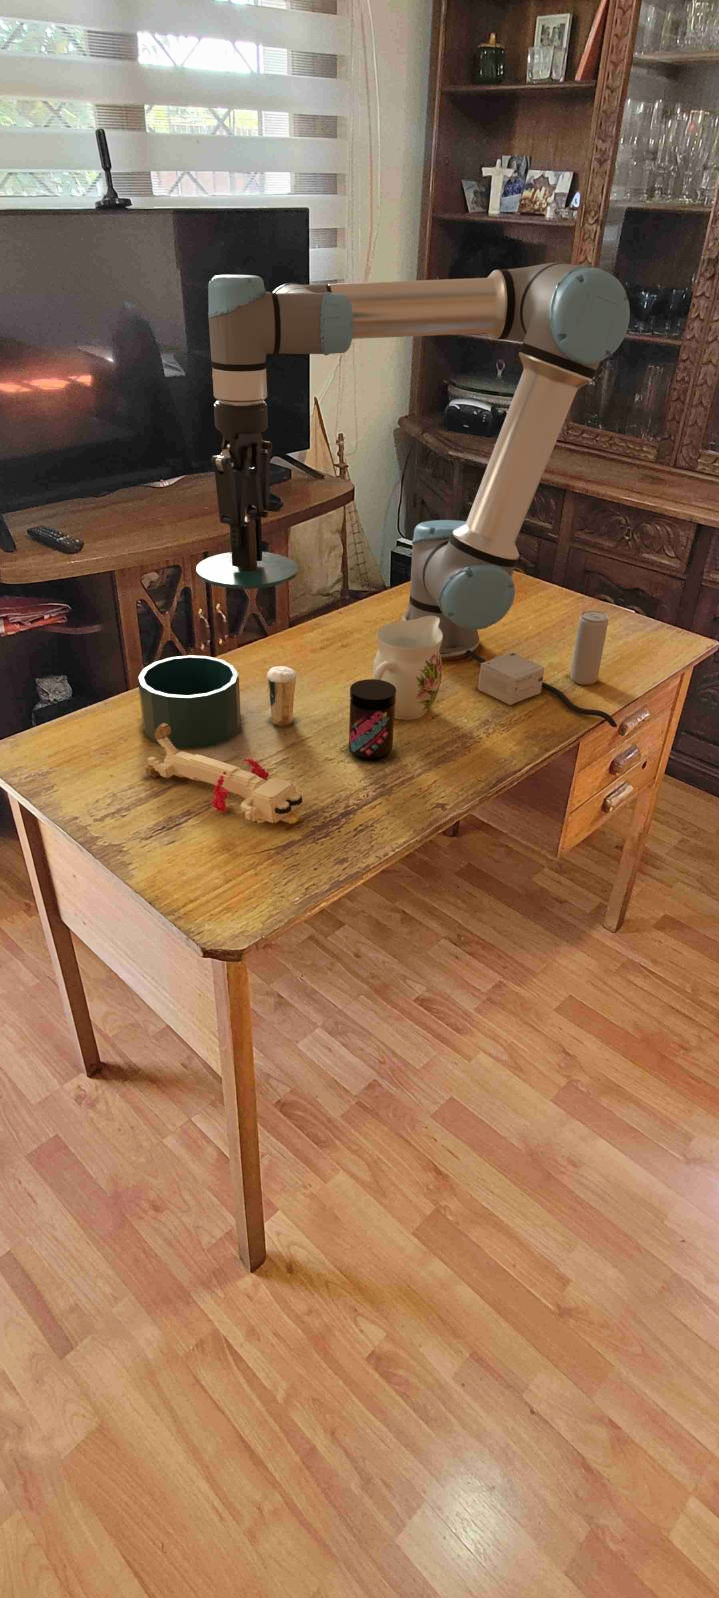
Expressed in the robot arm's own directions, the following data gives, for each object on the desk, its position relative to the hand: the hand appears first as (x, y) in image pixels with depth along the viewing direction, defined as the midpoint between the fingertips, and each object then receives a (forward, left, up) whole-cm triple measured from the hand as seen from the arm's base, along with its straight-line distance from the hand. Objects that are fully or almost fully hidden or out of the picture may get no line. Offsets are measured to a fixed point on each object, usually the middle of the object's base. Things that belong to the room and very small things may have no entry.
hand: (247, 562), depth 144 cm
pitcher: (-25, -5, -22) cm, 34 cm away
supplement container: (-26, +9, -22) cm, 35 cm away
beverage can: (-48, -32, -22) cm, 62 cm away
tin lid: (0, 0, -1) cm, 1 cm away
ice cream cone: (-10, +7, -22) cm, 25 cm away
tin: (+2, +15, -22) cm, 27 cm away
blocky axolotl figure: (-14, +30, -22) cm, 40 cm away
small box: (-38, -21, -22) cm, 49 cm away
